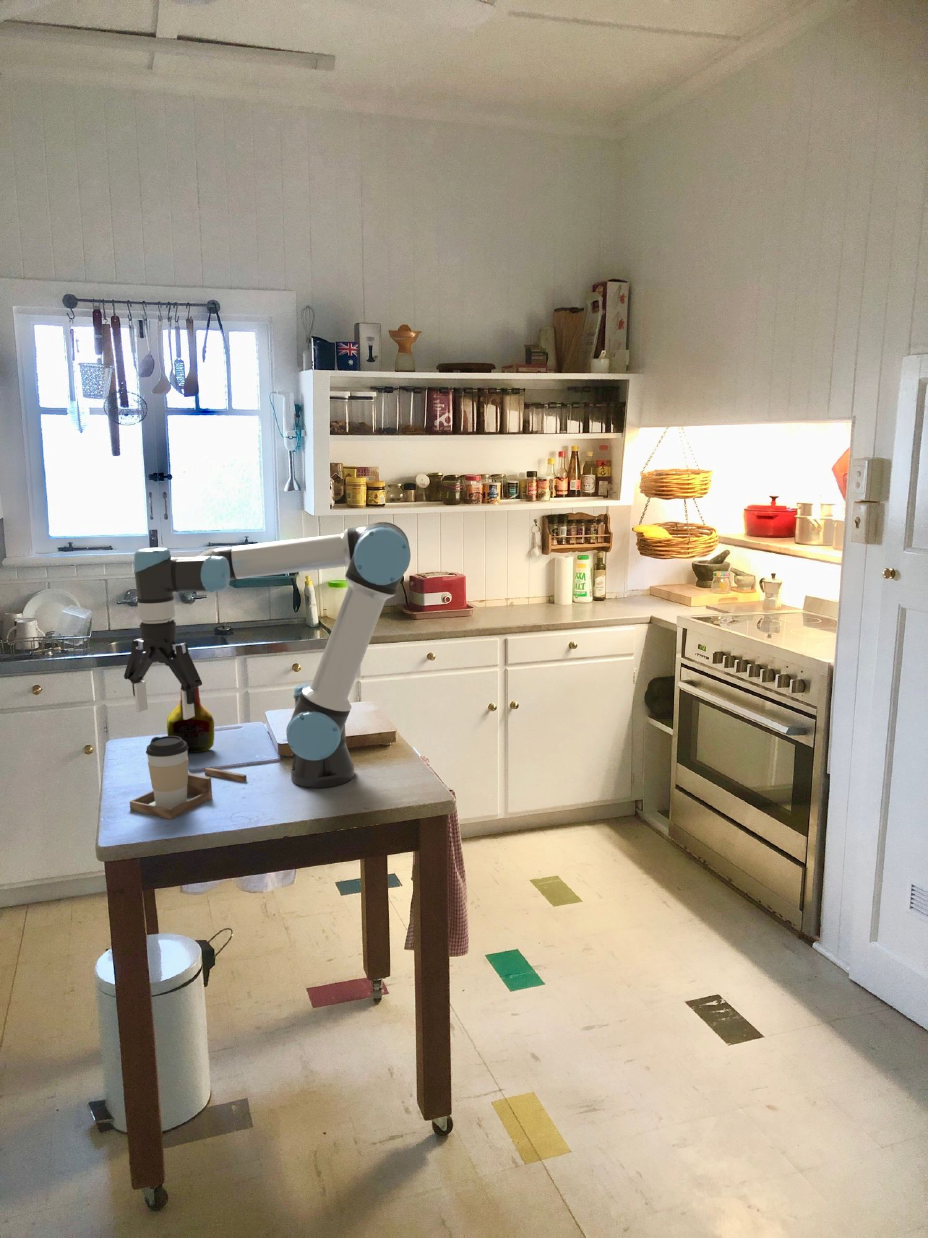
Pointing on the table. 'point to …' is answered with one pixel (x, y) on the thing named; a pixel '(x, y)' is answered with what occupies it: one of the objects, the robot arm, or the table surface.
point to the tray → (195, 788)
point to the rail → (225, 774)
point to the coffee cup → (168, 770)
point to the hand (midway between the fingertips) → (165, 714)
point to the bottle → (192, 726)
